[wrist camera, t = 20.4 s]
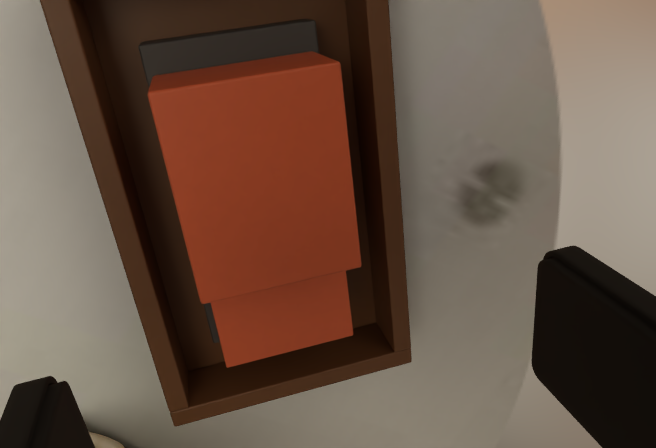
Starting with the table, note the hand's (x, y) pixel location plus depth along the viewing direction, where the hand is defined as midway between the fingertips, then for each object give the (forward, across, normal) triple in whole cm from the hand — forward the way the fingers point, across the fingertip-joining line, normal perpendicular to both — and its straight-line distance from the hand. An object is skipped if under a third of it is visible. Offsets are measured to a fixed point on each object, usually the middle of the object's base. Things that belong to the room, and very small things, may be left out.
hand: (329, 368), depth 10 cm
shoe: (+12, 0, +1) cm, 13 cm away
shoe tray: (+13, 0, +1) cm, 13 cm away
